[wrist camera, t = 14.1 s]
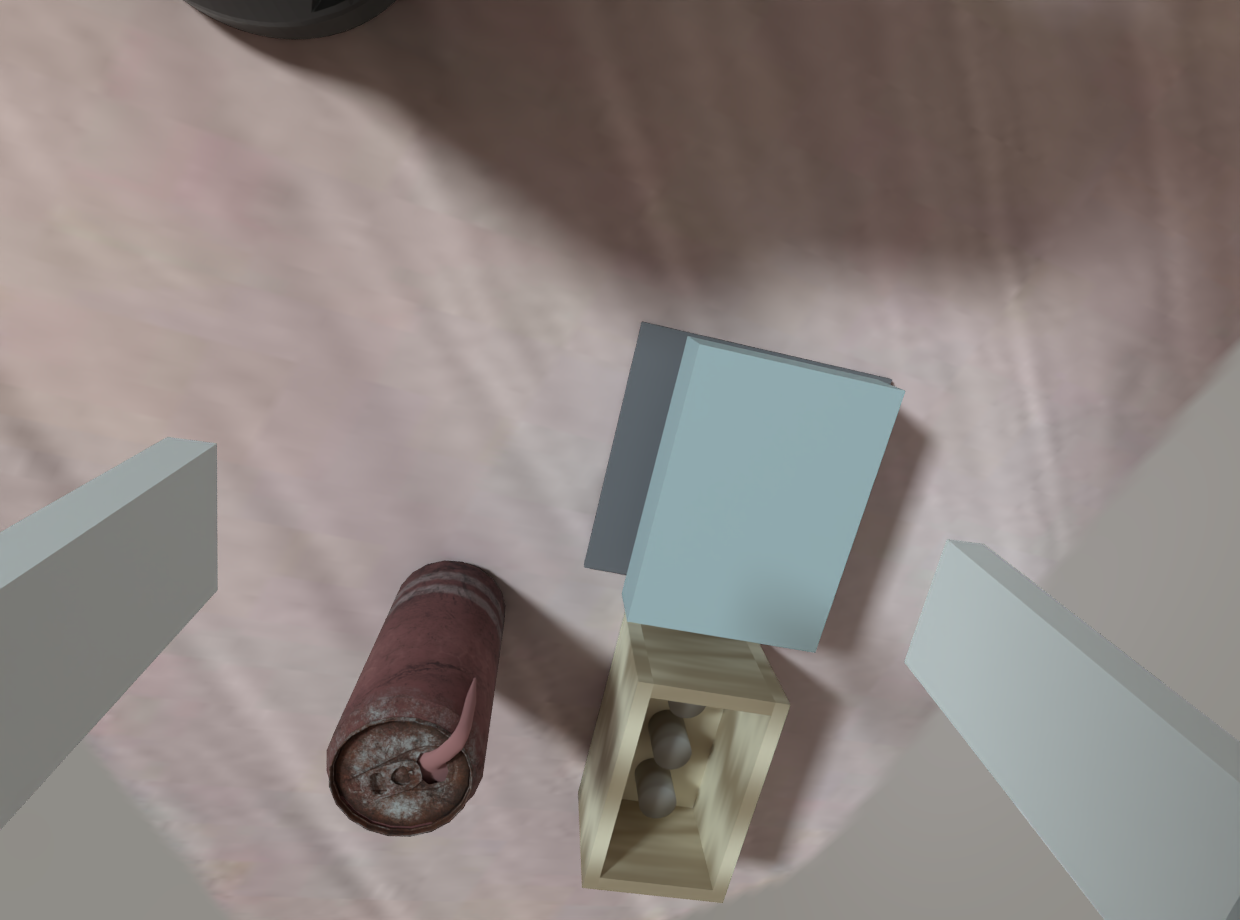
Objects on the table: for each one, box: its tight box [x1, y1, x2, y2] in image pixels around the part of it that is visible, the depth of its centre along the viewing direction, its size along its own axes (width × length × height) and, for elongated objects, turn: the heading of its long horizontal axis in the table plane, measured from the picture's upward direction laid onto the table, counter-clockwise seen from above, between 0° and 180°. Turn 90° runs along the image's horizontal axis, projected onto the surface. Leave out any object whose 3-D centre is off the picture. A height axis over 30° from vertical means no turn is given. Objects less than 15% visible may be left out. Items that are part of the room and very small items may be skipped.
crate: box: [578, 613, 790, 903], centre depth 40 cm, size 13×8×7 cm, turn 167°
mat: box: [584, 322, 892, 575], centre depth 39 cm, size 14×14×1 cm
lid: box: [622, 336, 905, 653], centre depth 37 cm, size 14×10×6 cm
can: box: [327, 561, 505, 837], centre depth 34 cm, size 6×6×14 cm
